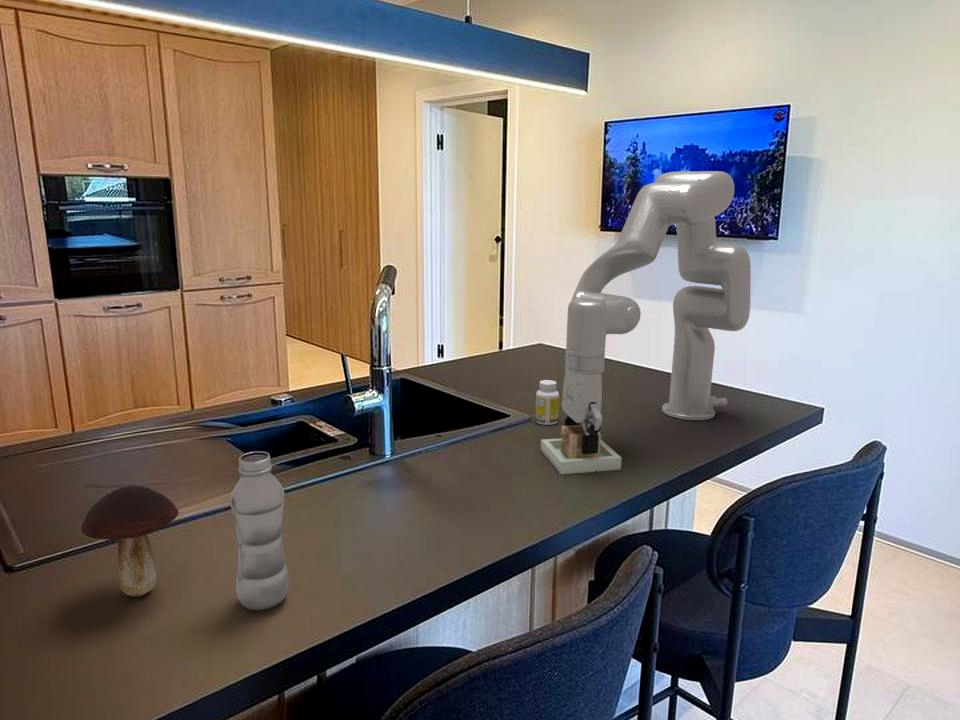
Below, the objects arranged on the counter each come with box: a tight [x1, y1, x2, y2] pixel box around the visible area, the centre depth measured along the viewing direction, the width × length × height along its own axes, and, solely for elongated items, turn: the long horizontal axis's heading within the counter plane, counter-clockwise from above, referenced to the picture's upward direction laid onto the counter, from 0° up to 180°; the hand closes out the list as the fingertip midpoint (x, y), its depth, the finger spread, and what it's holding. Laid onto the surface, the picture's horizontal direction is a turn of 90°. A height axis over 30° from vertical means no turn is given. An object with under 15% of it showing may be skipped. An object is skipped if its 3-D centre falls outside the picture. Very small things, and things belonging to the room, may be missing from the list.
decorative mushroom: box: [80, 485, 180, 598], centre depth 86 cm, size 11×11×15 cm
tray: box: [540, 437, 622, 475], centre depth 135 cm, size 12×12×2 cm
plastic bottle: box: [229, 450, 290, 611], centre depth 84 cm, size 6×7×20 cm
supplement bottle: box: [535, 379, 560, 426], centre depth 157 cm, size 5×5×10 cm
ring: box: [560, 423, 602, 459], centre depth 134 cm, size 6×8×6 cm
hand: (580, 444), depth 134 cm, fingers open, 9 cm apart
